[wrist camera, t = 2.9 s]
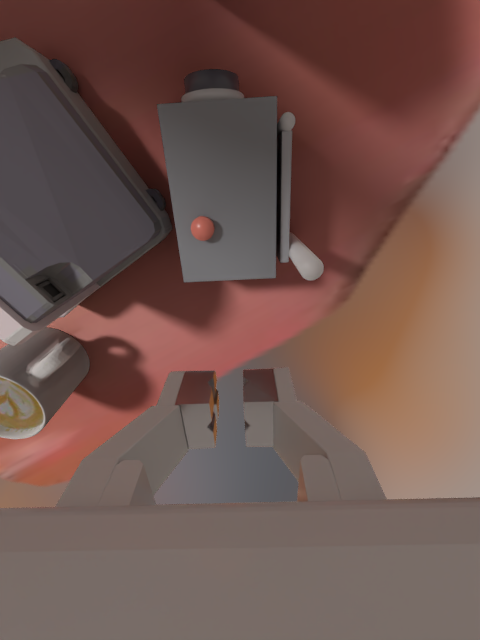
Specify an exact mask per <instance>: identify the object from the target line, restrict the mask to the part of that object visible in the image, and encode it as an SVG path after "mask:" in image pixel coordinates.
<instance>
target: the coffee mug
mask: <svg viewBox="0 0 480 640" xmlns="http://www.w3.org/2000/svg"><path fill="white" fill-rule="evenodd" d="M89 367H90V361H89V357H88V354H87V352H86V351H85V349H84V348H83V346H82V345H81V344H80V343H79V342H78V341H77V340H76V339H74V338H73V337H72V336H70V335H68V334H67V333H65V332H63V331H60V330H57V329H53V328H47V327H45V328H44V329H42V330H41V331H39V332H38V333H37V334H35V335H34V336H33V337H31V338H30V339H28V340H27V341H26V342H24V343H23V344H21V345H16V346H12V345H10V344H8V345H6V346H5V347H3V348H2V349H1V350H0V437H3V438H9V439H23V438H28V437H31V436H34V435H36V434H37V433H39V432H40V431H41V430H42V429H43V428H44V427H45V425H46V424H47V423H48V422H49V420H50V419H51V418H52V417H53V416H54V414H55V413H56V412H57V411H58V409H59V408H60V407H61V406H62V405H63V403H64V402H65V401H66V400H67V398H68V397H69V396H70V395H71V393H72V392H73V391H74V390H75V389H76V387H77V386H78V385H79V384H80V382H81V381H82V380H83V379H84V378H85V376H86V375H87V373H88V371H89Z"/></svg>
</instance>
